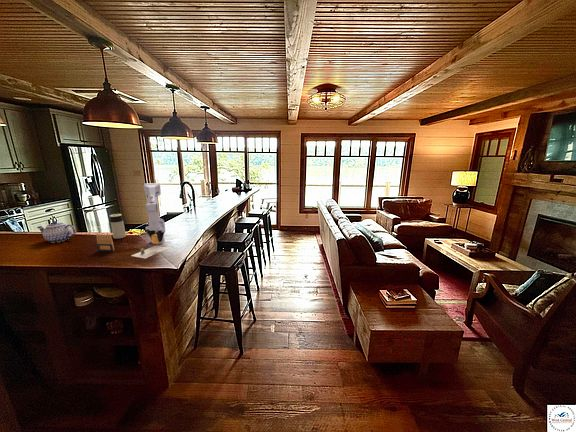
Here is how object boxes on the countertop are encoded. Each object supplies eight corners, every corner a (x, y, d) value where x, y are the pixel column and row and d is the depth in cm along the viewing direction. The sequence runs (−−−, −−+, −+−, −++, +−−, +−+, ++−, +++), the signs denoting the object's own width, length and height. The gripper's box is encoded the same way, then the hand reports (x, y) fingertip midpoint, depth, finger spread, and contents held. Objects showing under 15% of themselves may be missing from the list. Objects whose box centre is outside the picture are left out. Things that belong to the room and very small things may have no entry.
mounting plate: (131, 257, 142) (129, 250, 141) (155, 247, 159) (154, 240, 157) (145, 260, 138) (144, 253, 137) (169, 249, 155) (168, 242, 154)
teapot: (85, 236, 178) (81, 218, 175) (68, 243, 163) (63, 224, 160) (51, 237, 177) (46, 218, 173) (31, 244, 162) (25, 224, 158)
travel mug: (127, 235, 183) (124, 213, 178) (122, 238, 175) (118, 216, 170) (117, 235, 181) (112, 213, 177) (111, 239, 174) (106, 216, 169)
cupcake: (150, 242, 148) (149, 235, 147) (157, 240, 153) (156, 233, 152) (156, 244, 146) (155, 236, 145) (163, 241, 152) (162, 234, 150)
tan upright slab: (115, 250, 153) (112, 233, 150) (113, 251, 151) (110, 234, 148) (100, 250, 154) (96, 233, 151) (98, 251, 152) (94, 234, 149)
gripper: (140, 221, 145) (143, 241, 148) (157, 224, 140) (160, 244, 144) (149, 219, 151) (152, 238, 155) (166, 221, 147) (169, 240, 150)
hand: (157, 241), depth 150 cm, fingers closed on cupcake, 5 cm apart
